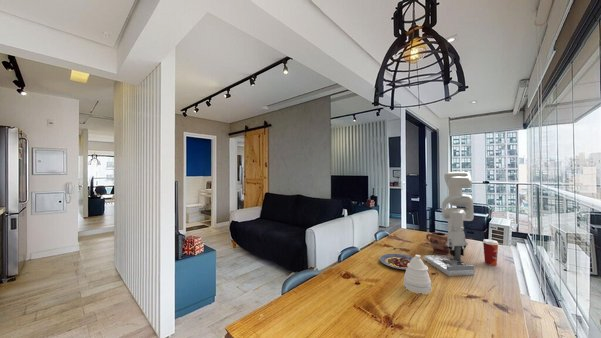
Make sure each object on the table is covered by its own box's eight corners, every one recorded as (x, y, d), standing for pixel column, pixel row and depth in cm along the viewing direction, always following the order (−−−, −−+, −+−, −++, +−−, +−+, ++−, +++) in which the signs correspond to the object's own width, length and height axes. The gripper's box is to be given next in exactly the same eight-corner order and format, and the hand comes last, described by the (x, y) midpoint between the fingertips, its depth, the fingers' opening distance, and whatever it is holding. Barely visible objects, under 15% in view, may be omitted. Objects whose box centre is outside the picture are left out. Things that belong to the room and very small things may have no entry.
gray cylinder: (451, 259, 158) (451, 244, 158) (457, 258, 159) (457, 244, 159) (456, 261, 154) (456, 246, 154) (462, 261, 154) (462, 246, 154)
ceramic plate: (412, 256, 164) (412, 252, 164) (429, 273, 138) (429, 268, 138) (375, 256, 167) (375, 251, 167) (385, 271, 141) (385, 267, 141)
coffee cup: (499, 267, 145) (499, 243, 145) (482, 264, 150) (482, 241, 150) (498, 262, 152) (498, 240, 152) (482, 259, 157) (482, 238, 157)
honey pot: (435, 295, 113) (434, 259, 113) (407, 293, 116) (406, 258, 116) (426, 283, 126) (425, 250, 126) (401, 281, 129) (401, 249, 129)
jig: (423, 259, 158) (423, 252, 158) (445, 258, 159) (445, 251, 159) (448, 276, 134) (448, 266, 134) (474, 274, 135) (474, 265, 135)
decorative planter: (421, 249, 179) (421, 231, 179) (430, 246, 185) (429, 229, 185) (448, 257, 162) (448, 237, 162) (457, 254, 168) (457, 235, 168)
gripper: (464, 227, 161) (464, 252, 161) (440, 228, 160) (441, 253, 160) (472, 230, 153) (473, 256, 153) (448, 230, 152) (448, 258, 152)
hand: (456, 255), depth 156 cm, fingers open, 5 cm apart
